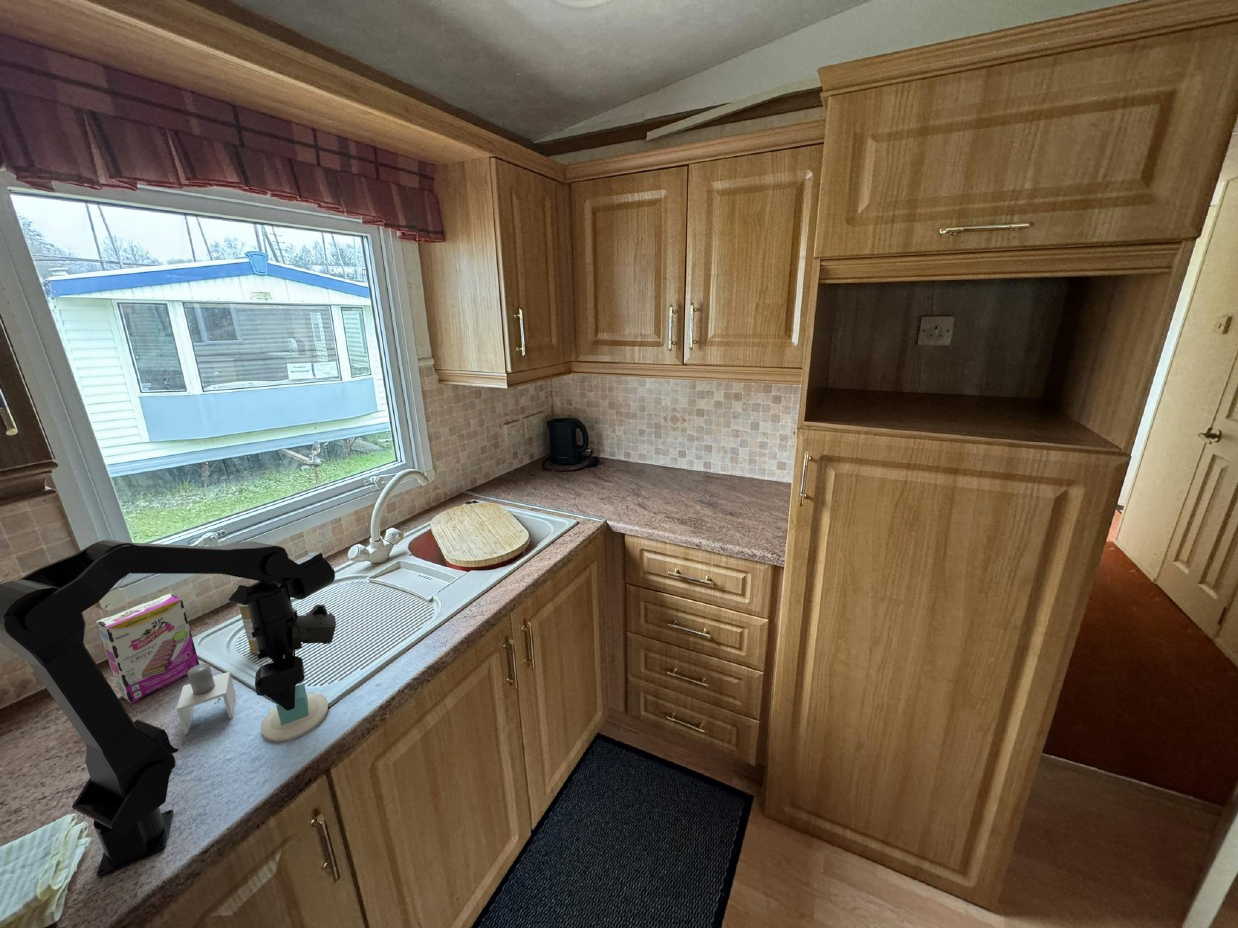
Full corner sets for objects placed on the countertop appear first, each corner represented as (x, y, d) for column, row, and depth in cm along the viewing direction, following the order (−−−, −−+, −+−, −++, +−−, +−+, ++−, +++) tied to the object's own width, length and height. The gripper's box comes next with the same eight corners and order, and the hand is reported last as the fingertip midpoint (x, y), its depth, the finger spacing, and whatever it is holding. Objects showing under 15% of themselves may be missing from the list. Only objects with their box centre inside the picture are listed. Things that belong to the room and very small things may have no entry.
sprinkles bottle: (272, 638, 108) (259, 584, 105) (277, 647, 105) (264, 592, 102) (247, 648, 105) (233, 593, 102) (252, 657, 102) (237, 601, 99)
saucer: (330, 724, 84) (329, 718, 84) (260, 751, 79) (258, 745, 79) (327, 690, 92) (325, 685, 92) (263, 712, 87) (261, 707, 87)
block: (308, 715, 85) (304, 696, 84) (281, 725, 83) (276, 706, 82) (308, 701, 88) (304, 682, 87) (281, 710, 86) (277, 691, 85)
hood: (232, 717, 86) (220, 672, 84) (184, 734, 83) (169, 687, 80) (236, 695, 92) (224, 652, 89) (190, 709, 88) (177, 665, 86)
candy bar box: (131, 705, 89) (105, 628, 85) (119, 697, 92) (92, 621, 87) (203, 668, 99) (182, 597, 95) (190, 661, 101) (169, 591, 97)
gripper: (331, 625, 77) (348, 706, 81) (325, 577, 92) (339, 647, 96) (244, 650, 71) (267, 736, 75) (253, 595, 86) (271, 669, 90)
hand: (291, 692), depth 84 cm, fingers open, 9 cm apart
